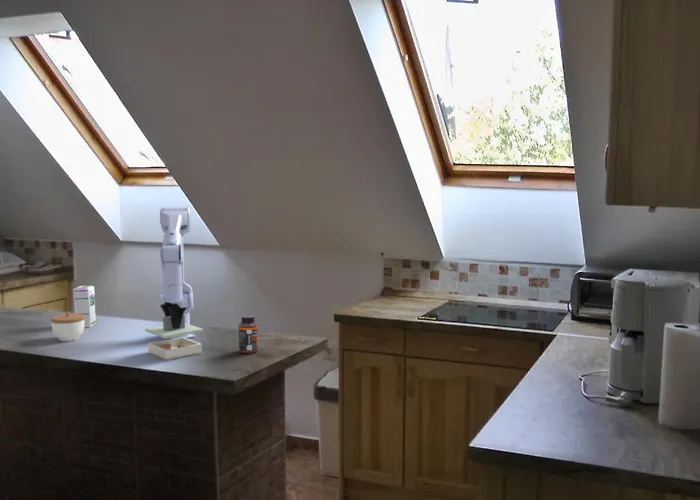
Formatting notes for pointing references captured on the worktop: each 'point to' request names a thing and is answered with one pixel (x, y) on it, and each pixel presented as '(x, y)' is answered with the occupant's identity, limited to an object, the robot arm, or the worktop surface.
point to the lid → (169, 331)
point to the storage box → (174, 348)
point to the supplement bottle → (248, 335)
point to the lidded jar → (68, 326)
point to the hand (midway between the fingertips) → (174, 327)
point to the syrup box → (85, 304)
